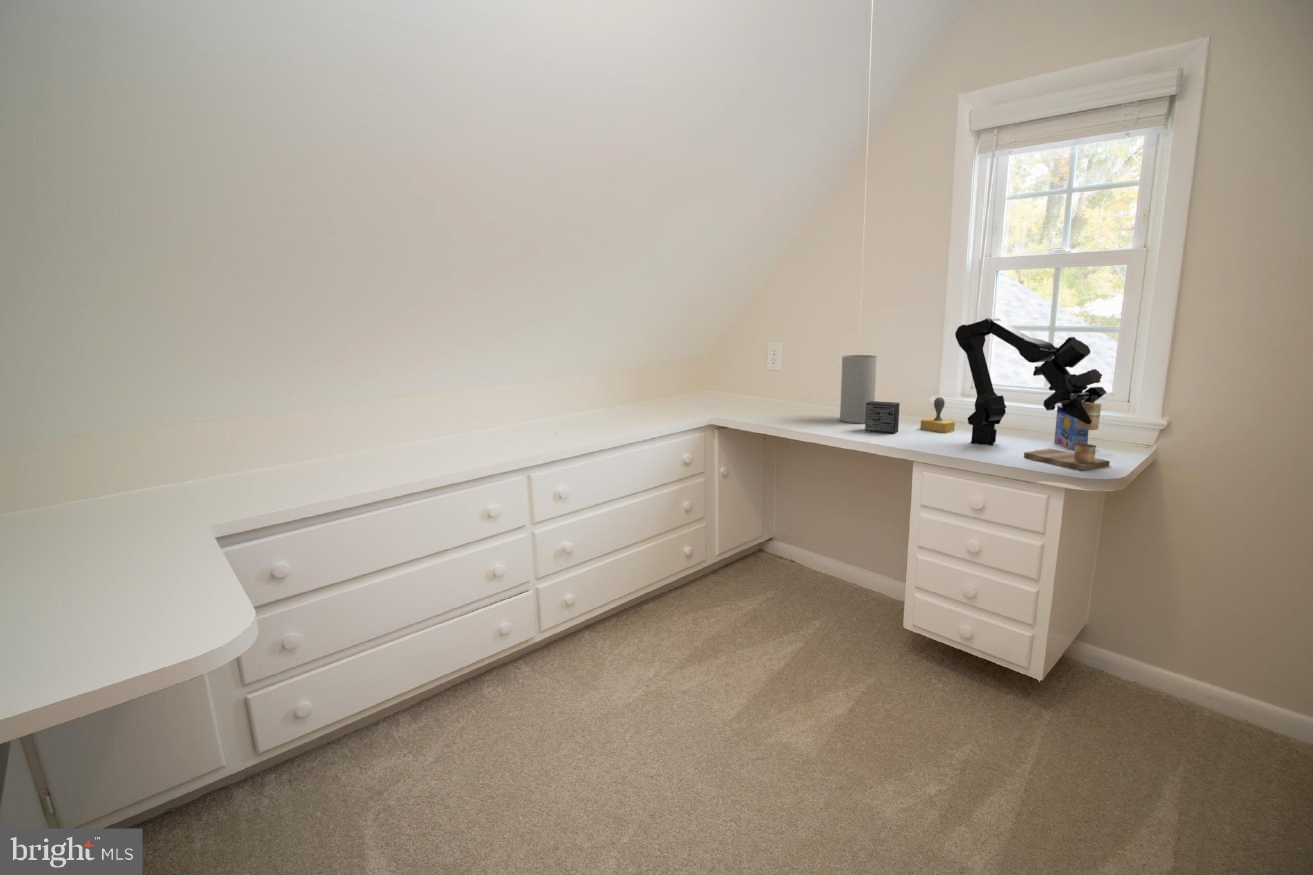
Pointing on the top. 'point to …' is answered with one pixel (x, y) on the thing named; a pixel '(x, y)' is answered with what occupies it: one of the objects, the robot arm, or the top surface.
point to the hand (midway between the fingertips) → (1093, 422)
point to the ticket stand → (1070, 457)
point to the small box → (882, 417)
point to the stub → (1091, 416)
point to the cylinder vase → (857, 386)
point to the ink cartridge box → (1069, 431)
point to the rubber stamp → (938, 420)
